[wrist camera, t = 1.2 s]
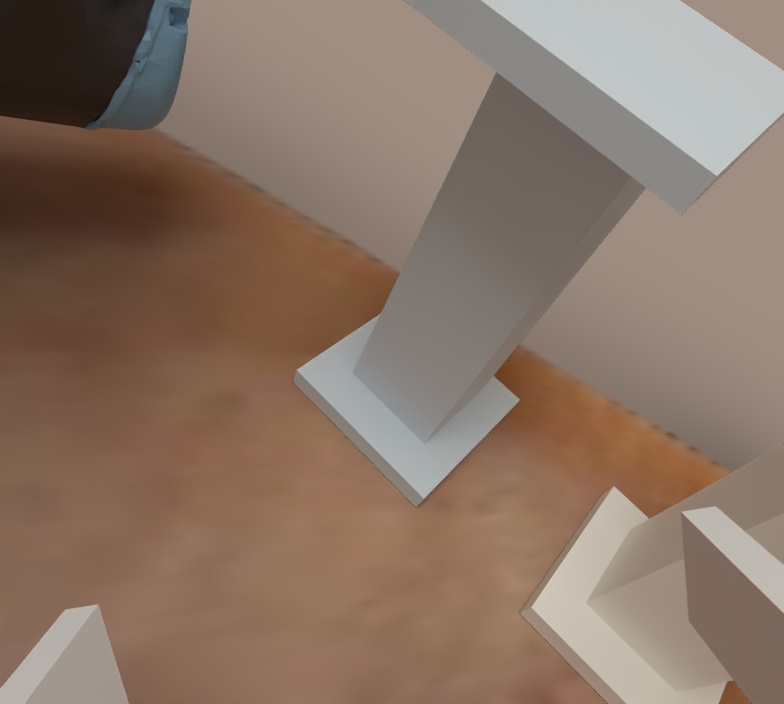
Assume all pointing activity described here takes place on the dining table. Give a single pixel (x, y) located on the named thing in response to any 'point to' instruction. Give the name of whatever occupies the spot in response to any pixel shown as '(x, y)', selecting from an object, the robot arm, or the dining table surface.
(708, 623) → the robot arm
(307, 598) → the dining table surface
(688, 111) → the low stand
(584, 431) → the dining table surface
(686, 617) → the stand
